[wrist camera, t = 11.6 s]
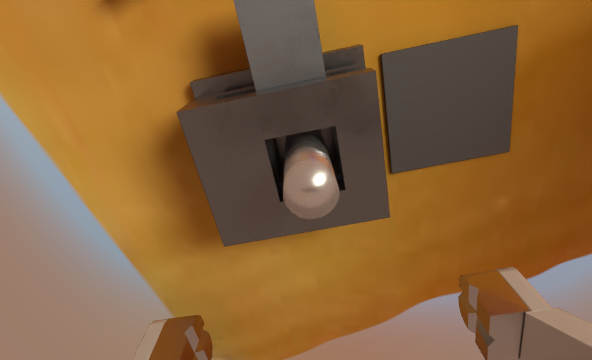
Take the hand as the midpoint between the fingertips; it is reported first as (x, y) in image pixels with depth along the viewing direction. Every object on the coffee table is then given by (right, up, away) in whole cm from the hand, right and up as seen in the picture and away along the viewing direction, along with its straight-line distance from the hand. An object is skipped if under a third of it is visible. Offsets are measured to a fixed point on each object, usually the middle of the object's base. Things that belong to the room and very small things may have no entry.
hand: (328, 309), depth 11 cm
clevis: (-2, +10, +17) cm, 19 cm away
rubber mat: (+11, +10, +17) cm, 23 cm away
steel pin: (0, +7, +16) cm, 18 cm away
